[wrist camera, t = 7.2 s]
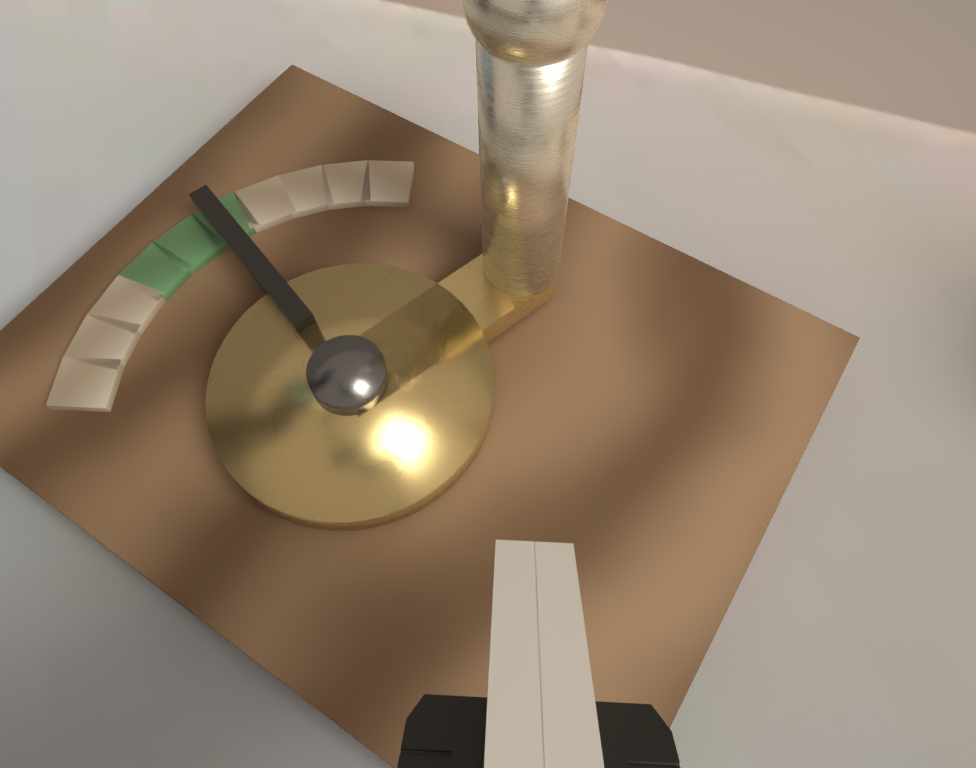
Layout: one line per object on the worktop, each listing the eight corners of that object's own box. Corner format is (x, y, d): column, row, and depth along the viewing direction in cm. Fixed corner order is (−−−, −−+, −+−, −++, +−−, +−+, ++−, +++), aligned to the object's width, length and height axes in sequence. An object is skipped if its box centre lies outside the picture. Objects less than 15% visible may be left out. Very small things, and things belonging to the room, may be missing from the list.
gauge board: (-50, 422, 25) (-87, 400, 24) (300, 93, 32) (290, 58, 31) (574, 899, 19) (582, 913, 17) (841, 359, 26) (863, 333, 24)
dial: (195, 555, 21) (-144, 340, 10) (204, 214, 27) (-6, -167, 16) (618, 489, 22) (743, 219, 11) (539, 171, 28) (566, -222, 17)
